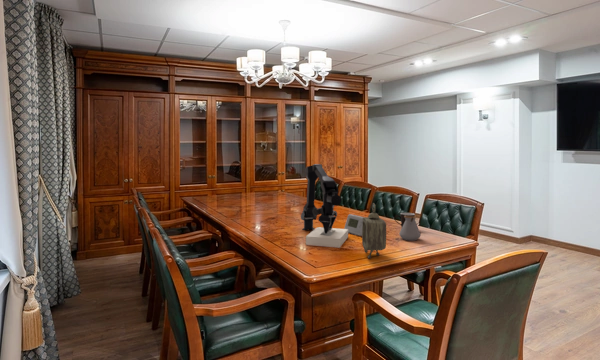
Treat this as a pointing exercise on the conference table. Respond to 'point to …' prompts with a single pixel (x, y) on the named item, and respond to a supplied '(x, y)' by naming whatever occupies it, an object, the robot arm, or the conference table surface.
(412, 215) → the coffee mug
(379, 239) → the shaggy robed figurine
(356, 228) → the digital clock
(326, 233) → the light grey rectangular block
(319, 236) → the slot board
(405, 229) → the coffee pot
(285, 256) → the conference table surface
